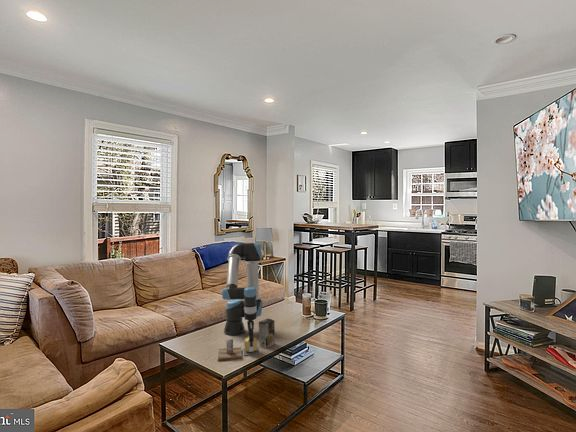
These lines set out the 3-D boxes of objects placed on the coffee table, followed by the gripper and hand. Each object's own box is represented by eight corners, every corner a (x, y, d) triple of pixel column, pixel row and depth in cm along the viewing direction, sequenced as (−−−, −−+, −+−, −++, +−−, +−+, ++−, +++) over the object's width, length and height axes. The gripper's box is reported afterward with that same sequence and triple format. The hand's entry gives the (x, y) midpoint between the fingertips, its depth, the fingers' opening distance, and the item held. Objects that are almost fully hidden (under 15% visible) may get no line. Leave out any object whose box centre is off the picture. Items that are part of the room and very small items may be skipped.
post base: (218, 351, 214) (218, 336, 214) (241, 349, 216) (240, 334, 216) (217, 361, 200) (217, 345, 200) (241, 359, 203) (241, 343, 202)
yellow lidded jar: (256, 345, 217) (256, 335, 217) (257, 350, 209) (257, 340, 209) (244, 346, 215) (244, 336, 215) (245, 351, 208) (244, 340, 208)
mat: (243, 349, 217) (243, 348, 217) (257, 348, 218) (257, 347, 218) (244, 356, 207) (244, 355, 207) (258, 354, 208) (258, 353, 208)
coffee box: (268, 341, 229) (267, 318, 228) (275, 344, 225) (274, 320, 224) (258, 346, 222) (258, 321, 221) (265, 348, 217) (265, 323, 217)
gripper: (243, 308, 221) (244, 342, 222) (245, 318, 201) (245, 356, 202) (255, 307, 222) (255, 341, 223) (257, 317, 202) (258, 355, 203)
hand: (250, 348), depth 212 cm, fingers closed on yellow lidded jar, 7 cm apart
